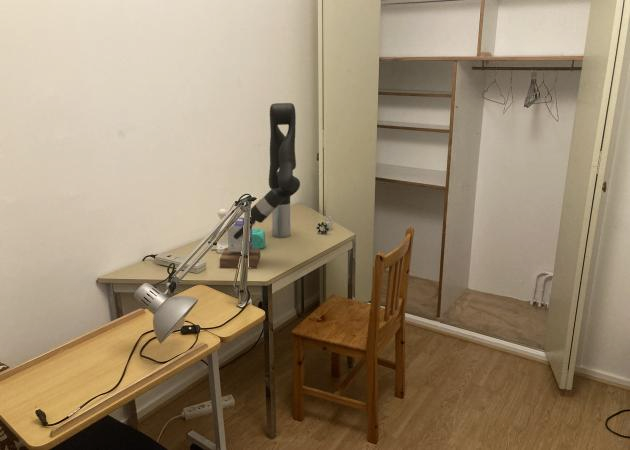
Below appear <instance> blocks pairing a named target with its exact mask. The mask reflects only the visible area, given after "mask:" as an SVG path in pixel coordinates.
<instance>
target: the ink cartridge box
mask: <svg viewBox="0 0 630 450" xmlns="http://www.w3.org/2000/svg"><path fill="white" fill-rule="evenodd" d="M244 221H245V217H240V218H239V219H238V220H237V221H236V220H235V221H234V222H235V224H234V225H233V226H232V227H231V228H230V229H229V230H228V231H227V230H226V232H227V242H228V251H237V252H241V251H242V241H243V234H242V235H241V236H240V237H239V238H238V239H235V238H234V237H233V236H234V235H235V234H236V233H237V232H238V231H239V229H240V228H241V227H242V225H243V223H244ZM252 229H253V226H252V227H251V228H250V241H249V252H250V251H251V250H252V249H253V245H252ZM242 230H243V229H242Z"/></svg>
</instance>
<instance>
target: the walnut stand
mask: <svg viewBox="0 0 630 450" xmlns="http://www.w3.org/2000/svg"><path fill="white" fill-rule="evenodd" d="M240 254H241V252H237V251H228V248H225V249H224V251H223V253H221V256H220V257H219V268H220V269H238V268H237V266H238V263H239V258H240ZM260 259H261V249H252V250H251V251H250V252H249V267H251V268H250V269H258V267H257V266H259V264H260Z"/></svg>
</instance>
